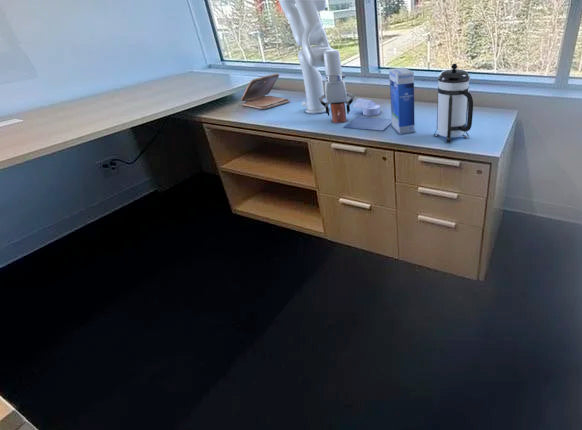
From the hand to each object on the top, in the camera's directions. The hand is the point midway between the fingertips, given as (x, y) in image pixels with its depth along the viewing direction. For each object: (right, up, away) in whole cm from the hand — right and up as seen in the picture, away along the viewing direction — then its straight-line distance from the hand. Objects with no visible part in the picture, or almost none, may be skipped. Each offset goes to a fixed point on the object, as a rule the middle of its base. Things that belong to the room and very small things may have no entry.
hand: (338, 114), depth 188 cm
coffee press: (+53, -17, -24) cm, 61 cm away
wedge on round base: (+14, +4, +12) cm, 19 cm away
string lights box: (+32, -10, -12) cm, 36 cm away
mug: (+1, -4, 0) cm, 4 cm away
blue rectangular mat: (+16, -6, -5) cm, 18 cm away
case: (-47, +15, +34) cm, 60 cm away
